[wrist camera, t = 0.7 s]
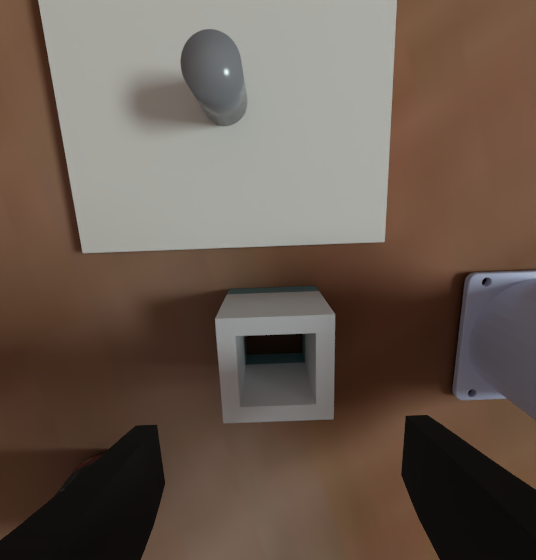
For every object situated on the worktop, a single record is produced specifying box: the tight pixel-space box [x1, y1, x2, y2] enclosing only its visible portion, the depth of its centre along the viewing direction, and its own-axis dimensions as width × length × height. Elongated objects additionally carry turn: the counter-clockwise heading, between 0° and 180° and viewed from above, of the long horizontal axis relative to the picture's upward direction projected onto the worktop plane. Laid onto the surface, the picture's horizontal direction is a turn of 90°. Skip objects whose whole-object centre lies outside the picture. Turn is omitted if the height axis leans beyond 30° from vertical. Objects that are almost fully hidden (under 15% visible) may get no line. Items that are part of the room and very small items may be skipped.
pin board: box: [38, 0, 397, 253], centre depth 13 cm, size 16×14×4 cm
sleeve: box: [215, 286, 335, 423], centre depth 15 cm, size 5×5×5 cm
